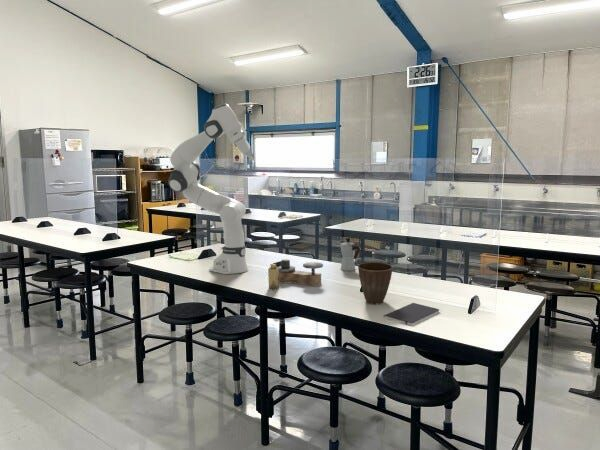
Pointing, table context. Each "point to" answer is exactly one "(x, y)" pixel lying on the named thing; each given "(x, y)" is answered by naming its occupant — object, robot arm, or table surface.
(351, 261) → the coffee maker
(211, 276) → the table surface
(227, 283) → the table surface
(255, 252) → the table surface
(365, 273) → the plant pot
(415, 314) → the notebook
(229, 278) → the table surface
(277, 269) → the brass weight
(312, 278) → the balance
